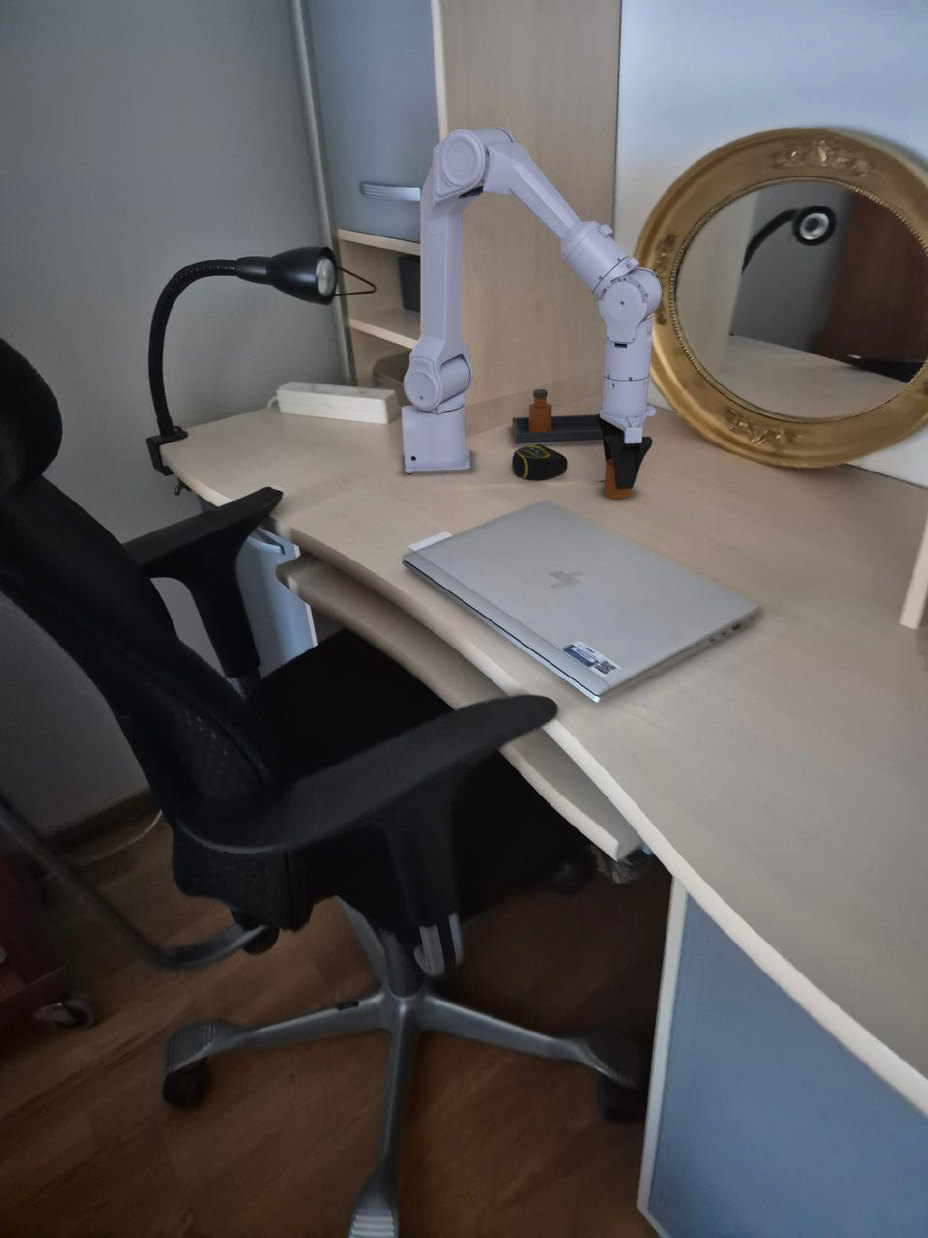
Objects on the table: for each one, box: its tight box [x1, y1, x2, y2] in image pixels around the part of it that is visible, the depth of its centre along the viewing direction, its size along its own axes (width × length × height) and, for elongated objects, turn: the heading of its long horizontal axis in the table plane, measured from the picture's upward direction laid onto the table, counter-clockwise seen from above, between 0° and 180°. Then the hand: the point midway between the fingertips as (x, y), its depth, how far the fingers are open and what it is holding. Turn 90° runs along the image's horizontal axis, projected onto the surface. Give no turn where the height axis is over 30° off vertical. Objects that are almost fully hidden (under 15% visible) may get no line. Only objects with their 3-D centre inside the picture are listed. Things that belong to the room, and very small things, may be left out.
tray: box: [512, 413, 603, 445], centre depth 130 cm, size 15×8×2 cm, turn 91°
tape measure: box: [511, 443, 569, 481], centre depth 115 cm, size 7×7×4 cm
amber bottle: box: [604, 459, 633, 500], centre depth 108 cm, size 4×4×7 cm
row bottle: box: [528, 388, 552, 432], centre depth 128 cm, size 4×4×7 cm
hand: (619, 476), depth 109 cm, fingers open, 7 cm apart
